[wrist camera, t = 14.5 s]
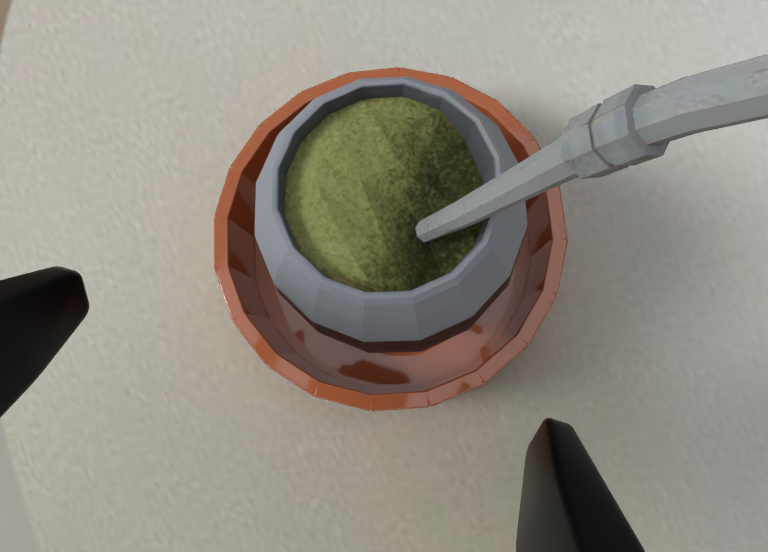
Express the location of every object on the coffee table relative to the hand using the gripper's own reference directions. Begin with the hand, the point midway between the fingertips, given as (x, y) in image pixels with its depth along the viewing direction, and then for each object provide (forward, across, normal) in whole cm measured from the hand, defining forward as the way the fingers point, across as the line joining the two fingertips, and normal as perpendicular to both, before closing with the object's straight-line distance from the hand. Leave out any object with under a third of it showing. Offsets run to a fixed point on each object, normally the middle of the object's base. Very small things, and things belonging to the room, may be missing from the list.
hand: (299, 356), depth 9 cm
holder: (+10, 0, +3) cm, 10 cm away
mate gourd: (+9, -1, +4) cm, 10 cm away
